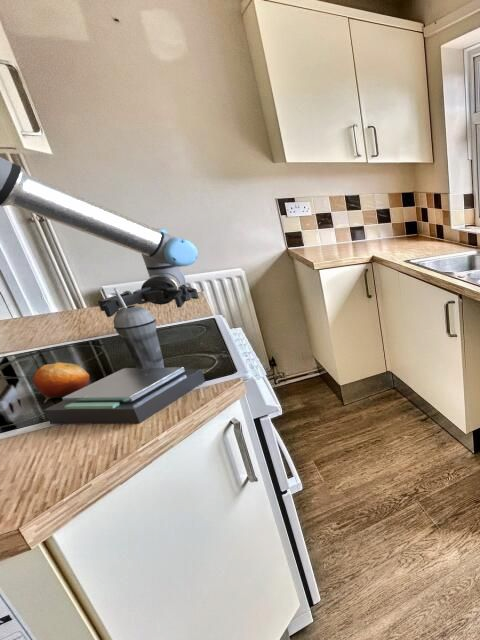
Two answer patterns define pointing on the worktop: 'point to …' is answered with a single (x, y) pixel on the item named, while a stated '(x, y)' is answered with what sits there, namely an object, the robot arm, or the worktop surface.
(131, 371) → the scale pan
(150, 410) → the scale
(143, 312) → the beverage cup
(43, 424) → the worktop surface
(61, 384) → the fruit
